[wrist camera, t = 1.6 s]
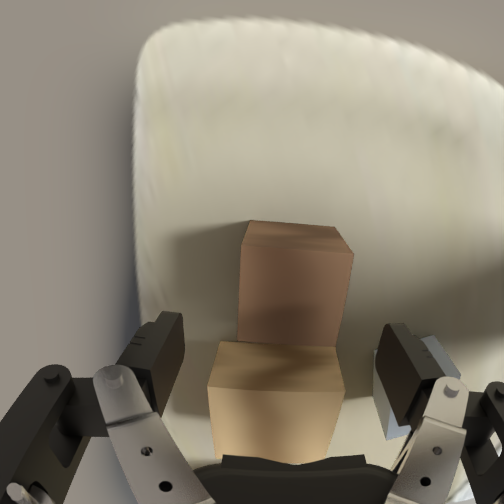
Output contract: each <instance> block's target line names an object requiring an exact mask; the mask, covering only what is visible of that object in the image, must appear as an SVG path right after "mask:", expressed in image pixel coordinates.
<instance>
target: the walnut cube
mask: <svg viewBox="0 0 504 504" xmlns="http://www.w3.org/2000/svg"><path fill="white" fill-rule="evenodd" d="M353 257H354V253H353V252H352V251H351V249H350V248H349V246H348V245H347V244H346V242H345V241H344V239H343V238H342V236H341V235H340V234H339V232H338V231H337V230H336V228H335V227H330V226H318V225H307V224H294V223H282V222H269V221H255V220H250V222H249V225H248V228H247V230H246V233H245V236H244V239H243V241H242V244H241V258H240V281H239V305H238V330H237V341H246V342H257V343H270V344H284V345H301V346H324V347H335V346H336V342H337V338H338V333H339V329H340V324H341V320H342V315H343V310H344V306H345V301H346V296H347V290H348V285H349V280H350V274H351V269H352V263H353Z"/></svg>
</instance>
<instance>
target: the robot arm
mask: <svg viewBox="0 0 504 504" xmlns="http://www.w3.org/2000/svg"><path fill="white" fill-rule="evenodd" d="M184 353H185V343H184V330H183V317H182V314H181V313H176V312H167V311H162V312H161V314H160V315H159V317H158V318H157V320H156V322H155V323H154V322H148V323H146V324H145V325H143V326H142V327H140V328H139V329H138V331H137V332H136V334H135V335H134V337H133V338H132V340H131V341H130V344H128V346H127V347H126V349H125V350H124V352H123V353H122V355H121V356H120V358H119V360H118V361H117V363H116V364H115V365H109V366H105V367H103V368H101V369H100V370H98V371H97V372H96V373H95V375H94V377H93V378H72V376H71V373H70V371H69V370H68V368H66V367H64V366H62V365H48V366H46V367H43V368H42V369H40V370H39V371H38V372H37V373H36V374H35V375H34V377H33V378H32V380H31V381H30V382H29V383H28V385H27V386H26V387H25V389H24V390H23V391H22V393H21V394H20V395H19V397H18V398H17V399H16V401H15V402H14V404H13V405H12V406H11V408H10V409H9V410H8V412H7V413H6V415H5V416H4V418H3V419H2V420H1V422H0V504H63V502H64V500H65V497H66V495H67V492H68V490H69V487H70V485H71V482H72V480H73V478H74V475H75V473H76V470H77V468H78V466H79V463H80V461H81V459H82V456H83V454H84V452H85V449H86V447H87V445H88V443H89V441H90V438H91V437H110V439H111V442H112V444H113V447H114V450H115V452H116V455H117V457H118V460H119V462H120V464H121V467H122V469H123V472H124V474H125V476H126V478H127V480H128V483H129V485H130V487H131V489H132V491H133V494H134V496H135V498H136V500H137V502H138V504H445V502H446V499H447V497H448V494H449V491H450V488H451V485H452V482H453V479H454V476H455V473H456V470H457V466H458V463H459V460H460V458H461V461H462V464H463V466H464V469H465V472H466V475H467V477H468V480H469V483H470V486H471V489H472V492H473V495H474V498H475V501H476V504H504V383H502V382H491V383H489V384H488V386H487V387H486V389H485V391H484V393H482V392H470V391H469V390H468V388H467V386H466V385H465V384H464V383H463V382H462V381H461V380H459V379H457V378H454V377H447V376H446V375H445V373H444V372H443V370H442V369H441V367H440V366H439V364H438V363H437V361H436V360H435V358H434V357H433V355H432V354H431V352H430V351H429V349H428V348H427V346H426V345H425V343H424V342H423V341H422V340H421V339H419V338H418V337H417V336H415V335H412V334H411V332H410V331H409V330H408V328H407V327H406V325H405V324H403V323H401V324H386V325H385V327H384V329H383V333H382V336H381V340H380V343H379V346H378V350H377V353H376V357H375V368H376V371H377V373H378V376H379V378H380V381H381V383H382V385H383V388H384V390H385V393H386V395H387V398H388V400H389V403H390V406H391V408H392V411H393V413H394V416H395V419H396V421H397V424H398V426H399V427H401V426H408V425H410V427H411V430H410V432H409V433H408V435H407V437H406V439H405V442H404V444H403V446H402V448H401V450H400V452H399V454H398V456H397V458H396V460H395V461H394V463H393V465H392V467H391V469H390V470H388V469H386V468H383V467H380V466H377V465H372V464H366V460H365V456H364V454H363V455H353V456H340V457H330V458H326V459H322V460H318V461H314V462H310V463H306V464H301V465H291V464H286V463H282V462H277V461H273V460H269V459H264V458H260V457H249V456H236V455H225V454H223V456H222V463H221V464H213V465H208V466H204V467H201V468H197V469H195V470H192V469H191V467H190V466H189V464H188V463H187V461H186V460H185V458H184V456H183V455H182V453H181V452H180V450H179V448H178V447H177V445H176V444H175V442H174V440H173V439H172V437H171V435H170V434H169V432H168V430H167V428H166V427H165V425H164V423H163V421H162V420H161V417H162V414H163V412H164V409H165V406H166V404H167V401H168V398H169V396H170V393H171V391H172V388H173V385H174V383H175V380H176V377H177V375H178V372H179V370H180V367H181V364H182V362H183V359H184ZM495 431H496V433H497V435H498V437H499V439H500V441H501V443H502V452H501V455H500V456H499V457H498V455H497V453H496V450H495V448H494V446H493V444H492V442H491V440H490V437H491V436H492V434H493V433H494V432H495Z"/></svg>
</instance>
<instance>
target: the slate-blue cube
mask: <svg viewBox="0 0 504 504" xmlns="http://www.w3.org/2000/svg"><path fill="white" fill-rule="evenodd" d="M421 340H422V341H423V342H424V343H425V345H426V346H427V348H428V349H429V351H430V352H431V354H432V355H433V357H434V358H435V360H436V361H437V363H438V364H439V366H440V367H441V369H442V370H443V372H444V373H445V375H446V376H447V377H454V378H457V379H459V380H460V376H461V374H460V372H459V371H458V369H457V368H456V366H455V365H454V363H453V362H452V360H451V359H450V357H449V356H448V354H447V353H446V352H445V350H444V349H443V347H442V346H441V344H440V343H439V342H438V340H437V339H436V337H435V336H434V335H431V336H428V337H424V338H421ZM377 350H378V349H376V350H374V368H373V399H374V402H375V405H376V408H377V412H378V415H379V418H380V421H381V425H382V428H383V432H384V435H385V438H386V440H389V439H393V438H397V437H400V436H404V435H407V434H408V433H409V432H410V430H411V427H410V425H408V426H401V427H399V426H398V424H397V421H396V419H395V416H394V413H393V411H392V408H391V406H390V403H389V400H388V398H387V395H386V393H385V390H384V388H383V385H382V383H381V381H380V378H379V376H378V373H377V371H376V368H375V357H376V353H377Z"/></svg>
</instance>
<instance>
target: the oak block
mask: <svg viewBox="0 0 504 504" xmlns="http://www.w3.org/2000/svg"><path fill="white" fill-rule="evenodd" d="M207 391H208V401H209V410H210V418H211V427H212V435H213V443H214V450H215V457H216V458H217V459H222V456H223V454H225V455H236V456H249V457H260V458H264V459H269V460H273V461H277V462H282V463H310V462H314V461H318V460H322V459H325V456H326V453H327V450H328V447H329V444H330V441H331V438H332V435H333V432H334V429H335V426H336V423H337V419H338V416H339V413H340V409H341V406H342V402H343V399H344V395H345V392H346V391H345V387H344V382H343V378H342V374H341V370H340V366H339V362H338V357H337V353H336V349H335V347H324V346H301V345H284V344H260V343H242V342H227V341H220V344H219V347H218V350H217V354H216V357H215V361H214V364H213V367H212V371H211V374H210V378H209V381H208V385H207Z"/></svg>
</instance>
